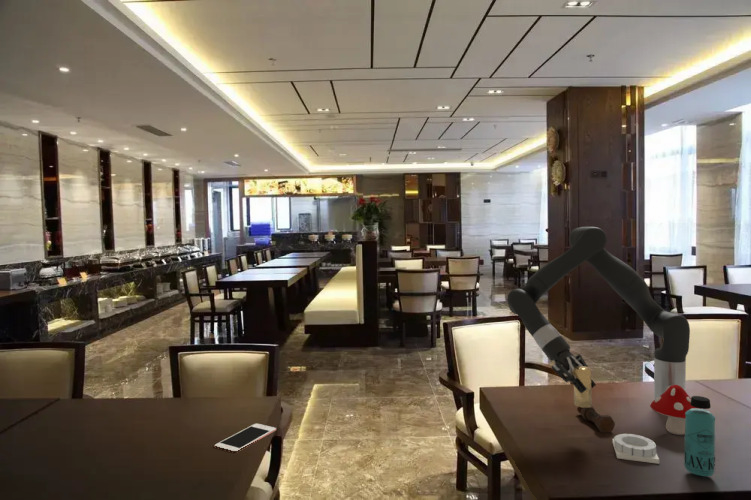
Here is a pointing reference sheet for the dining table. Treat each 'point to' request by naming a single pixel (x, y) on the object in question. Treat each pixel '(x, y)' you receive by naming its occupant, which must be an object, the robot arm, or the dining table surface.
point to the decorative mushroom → (673, 408)
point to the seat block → (635, 448)
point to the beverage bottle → (699, 438)
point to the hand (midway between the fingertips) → (588, 389)
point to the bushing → (585, 378)
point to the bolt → (597, 419)
